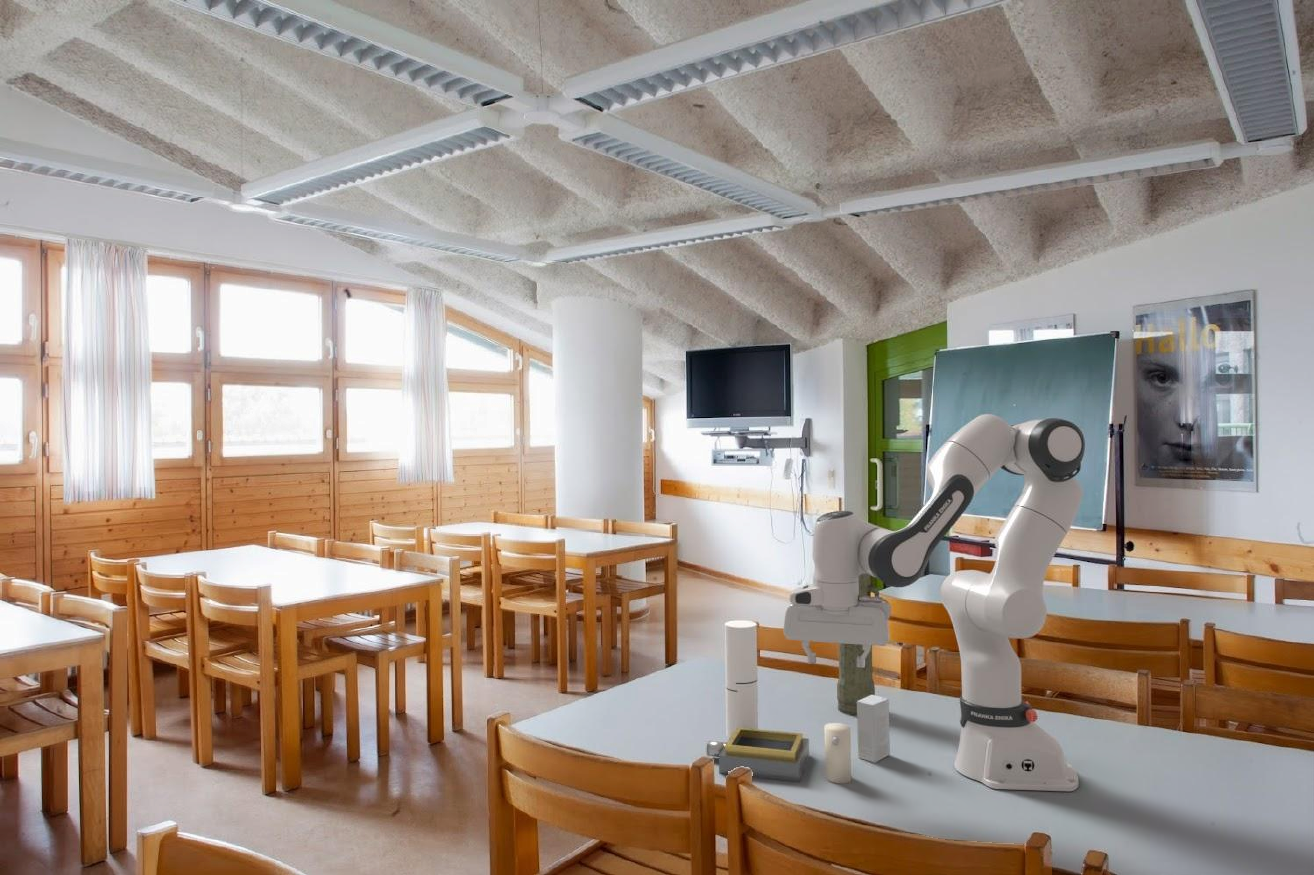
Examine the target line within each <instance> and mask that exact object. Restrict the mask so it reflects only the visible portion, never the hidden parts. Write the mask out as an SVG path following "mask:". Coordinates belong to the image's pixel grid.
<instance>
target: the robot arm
mask: <svg viewBox="0 0 1314 875" xmlns="http://www.w3.org/2000/svg"><path fill="white" fill-rule="evenodd" d="M1085 451H1086V440H1085V437H1084V433H1083V432H1082V431H1081V428H1080V427H1079V426H1078V425H1077V424H1075V423H1073V422H1071V421H1070V420H1066V419H1063V418H1057V417H1055V418H1054V417H1052V418H1051V417H1049V418H1045V419H1043V418H1042V419H1033V420H1029V421H1025V422H1022V423H1019V424H1018V423H1017V424H1014V425H1010V424H1009V423H1008V422H1007V421H1006V420H1005V419H1003V418H1002V417H1000V416H997V415H996V414H991V413H986V414H983V413H982V414H980V415H978V416H977V417H975V418H973V419H972V420H970V421H969V422H968V423H966V424H965V425H963V426H962V427H961V428H960V429H959V430H957V431H956V432H955V433H954V434H952V435H951V436H950V437H949V438H948V439H947V440H946V441H945V442H944V443H943V444H942V446H940V447H939V448H938V450H937V451H935V453H934V454H933V456H932V457H931V459H930V461H929V462H928V464H927V466H926V478H927V481H928V484H929V486H930V487H931V489H932V494H931V496H930V497H929V500H927V502H926V503H925V504H924V505H923V506H922V508H921V509H920V510H919V512H918V513H917V514H915V516H914V517H913V518H912V519H911V520H910V522H909V523H908V524H907V525H906V526H905V527H903V528H901V529H899V530H890V529H888V528H884V527H881V526H878V525H876V524H875V525H874V524H873V523H870V522H868V521H866V520H864V519H862V518H860V517H859V516H858V515H856V514H855V513H854V512H853V511H850V510H836V511H830V512H827V513H823V514H822V515H820V516H819V517H818V518H817V519H816V520H815V523H814V527H813V533H812V534H813V535H812V560H813V563H814V571H813V574H812V583H811V584H808V585H807V584H806V585H803V586H799V587H796V588H794V589H793V590H792V591H791V592H790V594H789V602H790V604H789V605H788V607H786V611H785V616H784V622H783V636H784V637H785V638H786V640H788V641H801V647H802V650H803V651H804V653H805V654H806V655H807V664H813V665H816V663H817V653H816V652H813V651H812V649H811V648H810V644H811V642H815V643H816V642H818V643H819V642H820V643H829V644H830V643H832V644H833V643H834V644H839V643H844V644H858V645H863V650H865V651H864V653H863V655H862V656H857V667H861V668H864V667H865V658H866V656H867V655H868V653H869V652H870V649H871V645H872V647H873V646H874V647H875V646H876V647H885V646H887V644H888V643H890V642H889V641H890V626H889V621H888V620H889V619H890V618H891V615H892V612H891V610H892V609H891V608H892V606H891V604H890V602H889V601H888V600H886V599H884V598H883V596H882V597H881V596H879V597H875V596H871V597H870V596H859V576H860V574H869V576H870V577H874V578H876V579H877V580H879V581H881V583H883V584H885V585H887V586H890V587H893V588H905V587H908V586H911V585H912V584H914V583H916V582H917V581H919V579H920V578H921V577H922V575H923V573H924V572H925V570H926V567H927V565H928V563H929V561H930V560H929V559H930V558H931V555H932V554H933V552H934V550H935V548H936V547H937V546H938V545H939V543H940V542H941V541H942V540H943V539H944V538H945V536H946V535H947V534H948V533H949V531H950V530H951V529H952V528H953V526H954V525H955V524H956V522H957V521H958V520H959V519H960V517H961V516H962V515H963V514H964V512H965V511H966V510H967V508H968V507H969V505H970V504H971V502H972V500H973V498H974V497H975V495H976V494H977V493H978V492H979V490H980V489H981V488H982V487H983V486H984V485H985V484H986V483H987V482H988V481H989V480H990V479H991V478H992V476H994V474H995V473H996V472H997V471H998V470H999V469H1001V470H1003V471H1005V472H1006V473H1009V474H1012V475H1015V476H1024V486H1023V489H1022V492H1021V495H1020V496H1019V498H1018V499H1017V500H1016V502H1015V504H1014V505H1013V507H1012V508H1011V510H1010V511H1009V514H1008V515H1007V516H1006V518H1005V520H1004V522H1003V523H1002V525H1001V527H1000V528H999V530H998V531H997V533H996V535H995V538H994V546H995V549H996V557H995V558H996V559H995V562H994V565H993V568H992V570H991V572H989V573H988V572H985V571H982V570H979V569H978V570H977V569H964V570H957V571H954V572H951V573H950V574H948V576H946V578H945V579H944V581H943V582H942V584H941V586H940V601H941V603H942V605H943V607H944V608H945V610H946V611H947V613H948V615H949V618H950V621H951V623H952V626H953V630H954V634H955V638H956V641H957V646H958V650H959V656H960V667H961V669H960V670H961V672H960V673H961V695H960V696H959V704H958V707H959V708H958V709H959V710H958V711H959V712H958V713H959V714H958V716H959V723H960V726H961V727H960V735H959V743H958V748H957V754H956V757H955V761H954V763H953V767H954V769H956V772H958V773H960V774H961V775H963V776H965V777H966V778H970V779H972V780H975V781H978V782H980V783H982V784H984V785H985V786H987V787H989V788H990V789H995V790H1017V791H1019V790H1020V791H1023V790H1024V791H1045V792H1046V791H1047V792H1048V791H1050V792H1074V791H1075V790H1077V789H1078V788H1079V785H1080V782H1079V776H1078V774H1077V771H1076V770H1075V768H1074V767H1073V766H1072V765H1071V764H1069V763H1068V762H1066V760H1065V759H1066V758H1065V755H1064V752H1063V749H1062V746H1061V745H1060V743H1059V742H1058V741H1057V740H1056V738H1055V737H1053V736H1052V735H1051V734H1050V733H1048V732H1047V731H1046V730H1044V728H1041V726H1039V725H1038V724H1037V723H1036V721H1038V718H1039V717H1038V715H1037V712H1036V710H1034V709H1033V706H1032V705H1031V704H1030V703H1029V702H1028V701H1024V700H1023V699H1022V664H1021V661H1020V658H1019V656H1018V655H1017V653H1016V652H1015V650H1014V648H1013V647H1012V644H1011V641H1010V639H1029V638H1032V637H1034V636H1036V634H1038V633H1039V632H1040V631H1041V630H1042V628H1043V627H1044V624H1045V623H1046V619H1047V605H1046V603H1045V600H1044V597H1043V589H1044V588H1043V587H1044V584H1045V583H1044V581H1045V579H1046V575H1047V572H1048V569H1049V567H1050V564H1051V563H1052V561H1053V558H1054V557H1055V555H1056V553H1057V551H1058V550H1059V548H1060V547H1061V545H1062V543H1063V541H1064V540H1065V539H1066V538H1065V537H1066V536H1067V534H1068V533H1069V531H1070V529H1071V527H1072V524H1073V523H1074V521H1075V518H1076V516H1077V514H1078V511H1079V509H1080V505H1081V503H1082V500H1083V497H1084V496H1083V495H1084V490H1083V487H1082V485H1081V483H1080V482H1079V481H1078V480H1077V479H1076V478H1075V477H1076V476H1077V475H1078V474H1079V473H1080V472H1081V469H1082V466H1081V465H1082V461H1083V458H1084V456H1085Z"/></svg>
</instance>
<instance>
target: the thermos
mask: <svg viewBox="0 0 1314 875" xmlns="http://www.w3.org/2000/svg"><path fill="white" fill-rule="evenodd" d="M871 581H872V580H871V575H869V574H860V576H859V596H870V597H872V594H871V592H872V593H873V594H874V597H880V592H879V590H878V588H877V587H876V586H873V585H871V584H872V583H871ZM864 651H865V650H863V645H858V644H844V643H838V673H839V674H838V681H837V683H836V697H837V698H836V699H837V710H838V711H839V712H840V713H843V714H845V715H848V714H850V715H849V716H855V715H857V701H859V700H861V699H863V698H865V697H868V696H870V695H876V688H875V682H874V678H873V645H871V649H870V652H869V653H868V655H867V656H866V658H865V667H864V668H861V667H857V656H862V655H863V653H864ZM851 714H852V715H851Z"/></svg>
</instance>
